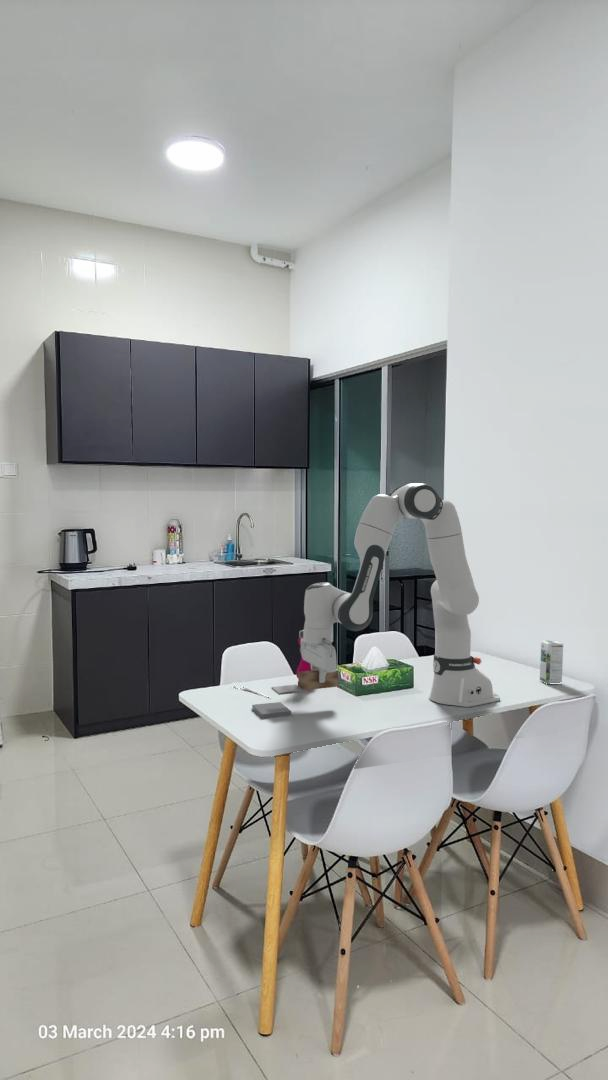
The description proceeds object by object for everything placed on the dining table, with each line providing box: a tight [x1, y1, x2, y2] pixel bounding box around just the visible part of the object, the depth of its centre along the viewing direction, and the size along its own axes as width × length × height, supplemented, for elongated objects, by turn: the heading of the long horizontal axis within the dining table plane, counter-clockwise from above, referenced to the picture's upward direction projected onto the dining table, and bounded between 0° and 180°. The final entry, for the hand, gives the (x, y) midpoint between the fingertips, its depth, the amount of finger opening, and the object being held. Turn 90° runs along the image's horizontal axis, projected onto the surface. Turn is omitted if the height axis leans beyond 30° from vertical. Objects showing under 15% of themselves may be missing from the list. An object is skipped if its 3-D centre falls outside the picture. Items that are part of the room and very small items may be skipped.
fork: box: [231, 680, 271, 699], centre depth 242 cm, size 3×20×2 cm, turn 41°
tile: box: [251, 701, 292, 719], centre depth 220 cm, size 2×10×9 cm
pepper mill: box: [296, 636, 312, 679], centre depth 248 cm, size 7×7×20 cm
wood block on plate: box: [271, 669, 339, 696], centre depth 223 cm, size 20×7×5 cm, turn 111°
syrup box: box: [539, 639, 564, 684], centre depth 255 cm, size 6×6×14 cm
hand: (318, 680), depth 224 cm, fingers closed on wood block on plate, 3 cm apart
